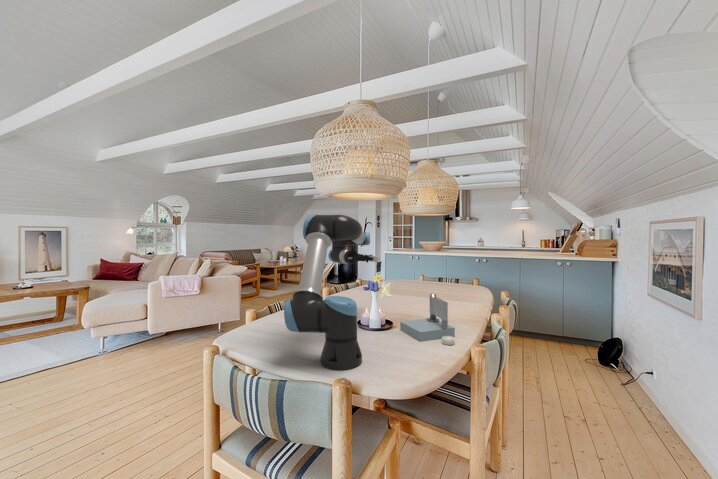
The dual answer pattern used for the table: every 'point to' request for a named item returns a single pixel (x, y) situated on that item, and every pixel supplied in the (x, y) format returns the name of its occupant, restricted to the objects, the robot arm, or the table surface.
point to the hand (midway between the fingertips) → (378, 259)
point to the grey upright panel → (439, 310)
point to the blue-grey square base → (426, 329)
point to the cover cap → (448, 340)
